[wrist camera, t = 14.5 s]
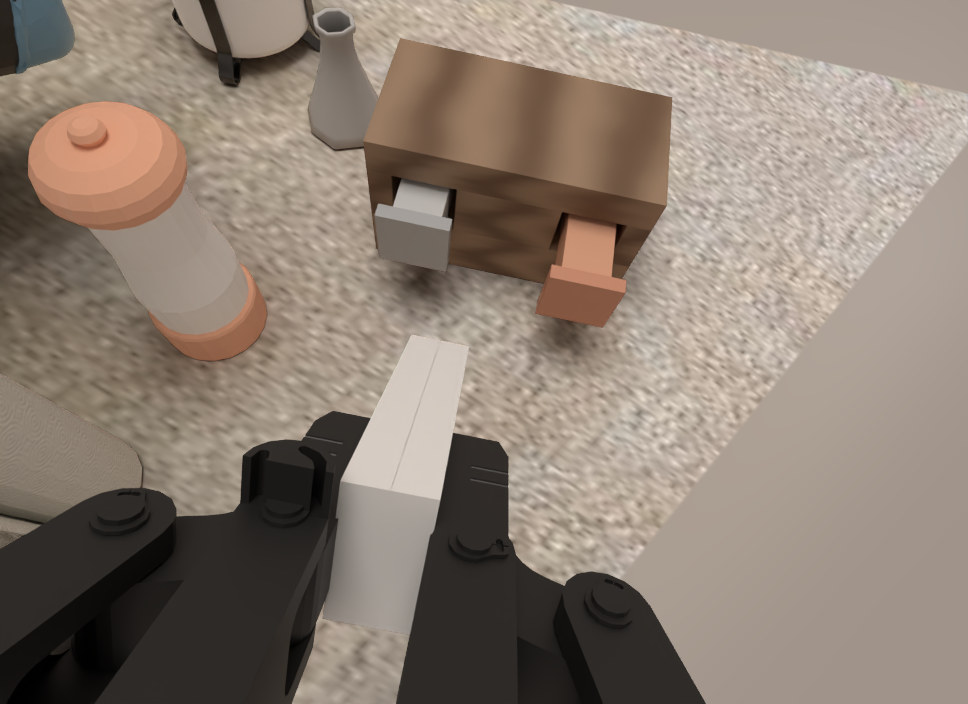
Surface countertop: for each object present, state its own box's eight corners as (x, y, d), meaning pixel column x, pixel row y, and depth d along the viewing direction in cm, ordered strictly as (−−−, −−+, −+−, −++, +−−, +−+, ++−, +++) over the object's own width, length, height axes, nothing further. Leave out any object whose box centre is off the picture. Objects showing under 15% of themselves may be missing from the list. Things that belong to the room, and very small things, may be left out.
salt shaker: (170, 279, 44) (7, 66, 27) (267, 273, 45) (172, 65, 28) (162, 365, 41) (-26, 190, 24) (266, 357, 42) (159, 183, 25)
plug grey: (379, 257, 42) (374, 215, 37) (421, 120, 47) (421, 69, 43) (446, 272, 42) (449, 231, 37) (479, 133, 47) (486, 83, 43)
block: (376, 248, 47) (363, 141, 36) (404, 158, 51) (400, 38, 40) (610, 297, 48) (666, 205, 37) (618, 204, 52) (672, 97, 41)
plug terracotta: (535, 313, 41) (549, 277, 36) (558, 167, 47) (573, 121, 42) (602, 327, 41) (625, 293, 37) (617, 180, 47) (638, 134, 42)
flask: (401, 134, 52) (398, 36, 43) (330, 162, 50) (310, 64, 41) (365, 84, 55) (354, -20, 46) (295, 108, 52) (269, 4, 43)
